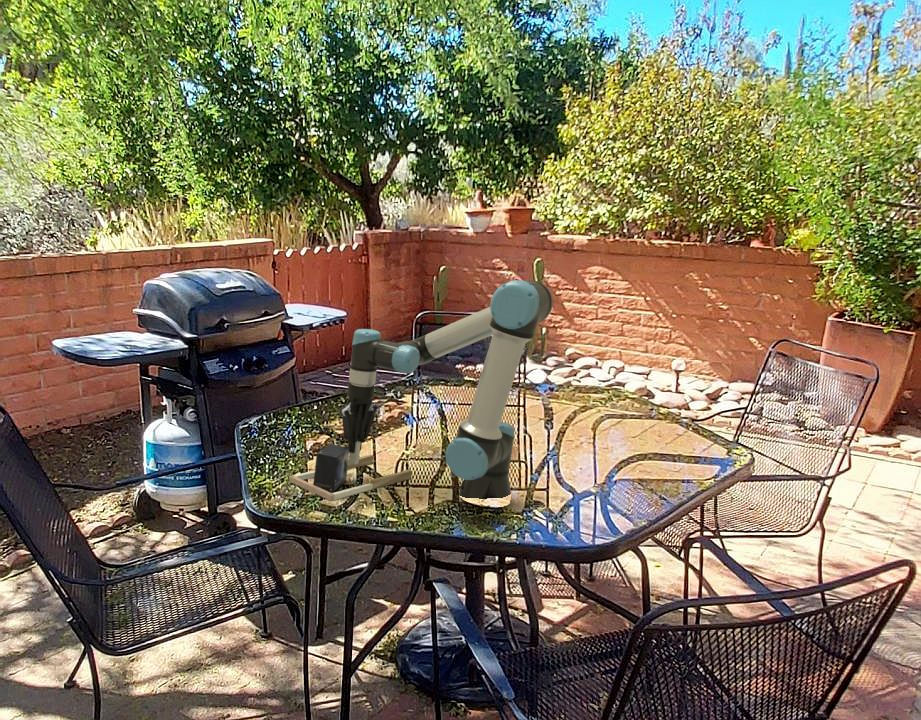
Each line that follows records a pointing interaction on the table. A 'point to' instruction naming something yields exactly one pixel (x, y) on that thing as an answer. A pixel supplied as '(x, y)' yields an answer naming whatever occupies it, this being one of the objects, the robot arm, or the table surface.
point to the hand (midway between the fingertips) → (353, 462)
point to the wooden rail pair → (385, 479)
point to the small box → (331, 467)
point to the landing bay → (300, 482)
